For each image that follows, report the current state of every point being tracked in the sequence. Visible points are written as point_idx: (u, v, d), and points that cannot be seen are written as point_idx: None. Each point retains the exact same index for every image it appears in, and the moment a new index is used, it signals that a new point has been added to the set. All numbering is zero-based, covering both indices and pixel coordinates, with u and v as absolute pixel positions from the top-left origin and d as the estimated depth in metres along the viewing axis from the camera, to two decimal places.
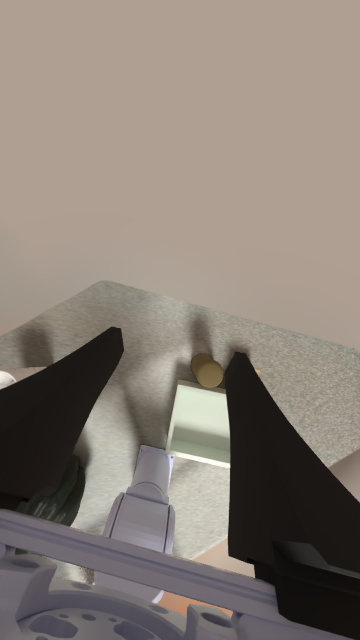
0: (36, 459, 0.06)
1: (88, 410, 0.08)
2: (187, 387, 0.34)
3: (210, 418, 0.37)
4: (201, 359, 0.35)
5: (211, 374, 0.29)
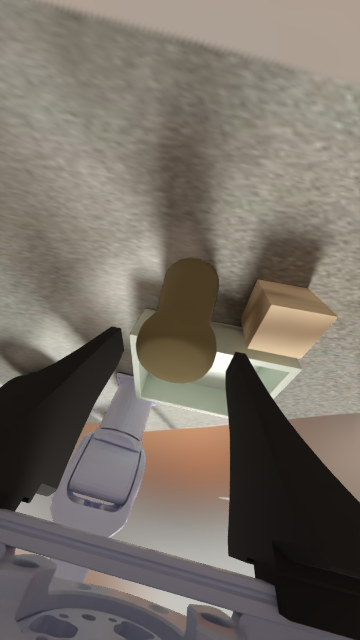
0: (36, 459, 0.06)
1: (88, 410, 0.08)
2: None
3: None
4: (171, 290, 0.13)
5: (172, 367, 0.09)
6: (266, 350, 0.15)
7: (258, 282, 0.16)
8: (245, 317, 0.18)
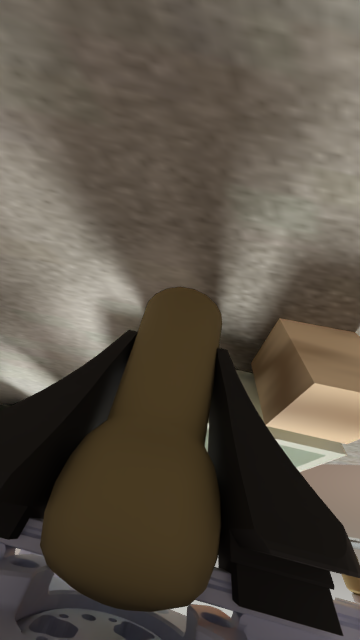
0: None
1: (108, 415, 0.08)
2: None
3: None
4: (141, 356, 0.07)
5: None
6: (294, 430, 0.10)
7: (281, 324, 0.11)
8: (259, 367, 0.12)
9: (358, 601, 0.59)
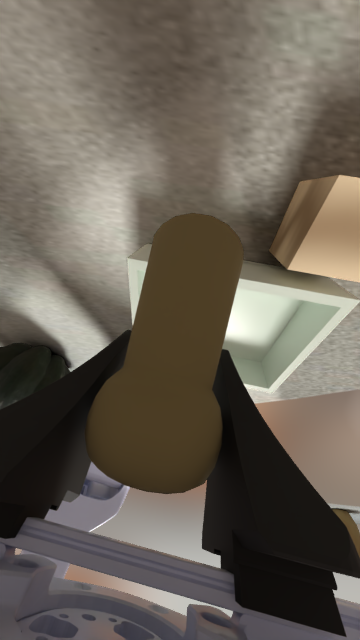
0: (64, 466, 0.05)
1: None
2: None
3: None
4: (149, 308, 0.07)
5: None
6: (314, 271, 0.11)
7: (302, 182, 0.12)
8: (279, 240, 0.14)
9: None
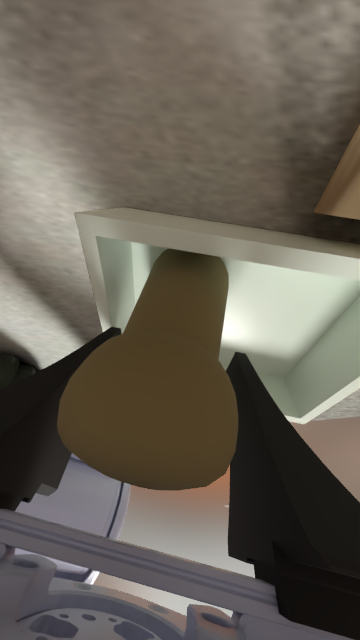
0: (36, 459, 0.06)
1: None
2: (121, 225, 0.07)
3: (227, 318, 0.14)
4: (151, 291, 0.07)
5: (136, 481, 0.04)
6: None
7: None
8: (340, 186, 0.08)
9: None
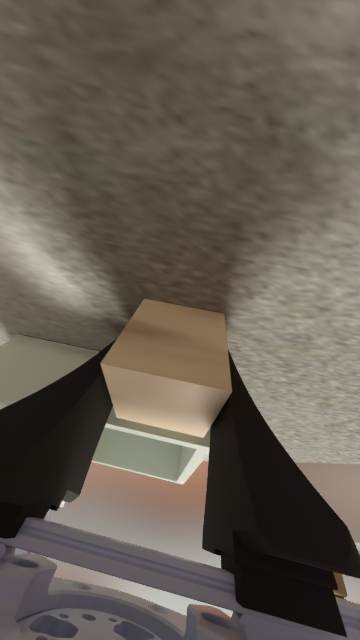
0: (64, 466, 0.05)
1: (107, 414, 0.08)
2: None
3: None
4: None
5: None
6: (146, 423, 0.09)
7: (141, 305, 0.10)
8: None
9: None
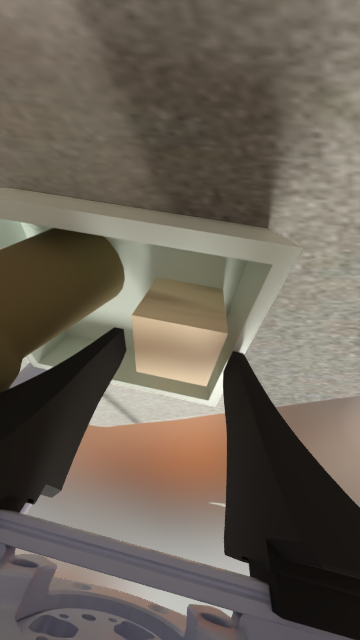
0: (41, 460, 0.05)
1: (91, 411, 0.08)
2: None
3: (135, 302, 0.14)
4: None
5: None
6: (160, 375, 0.11)
7: (155, 281, 0.12)
8: None
9: None
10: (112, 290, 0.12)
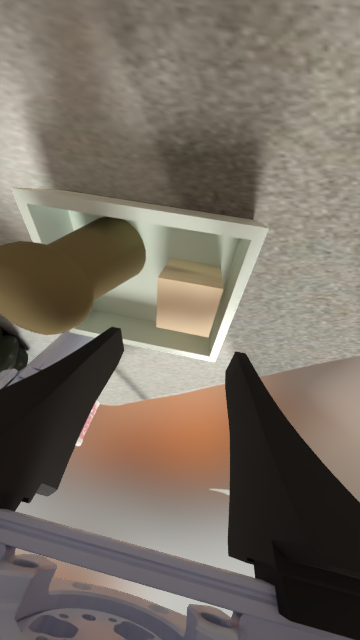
0: (36, 459, 0.06)
1: (88, 410, 0.08)
2: (40, 195, 0.11)
3: (152, 279, 0.18)
4: (61, 238, 0.11)
5: (14, 306, 0.08)
6: (174, 329, 0.15)
7: (169, 260, 0.16)
8: None
9: None
10: (138, 267, 0.16)
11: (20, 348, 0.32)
